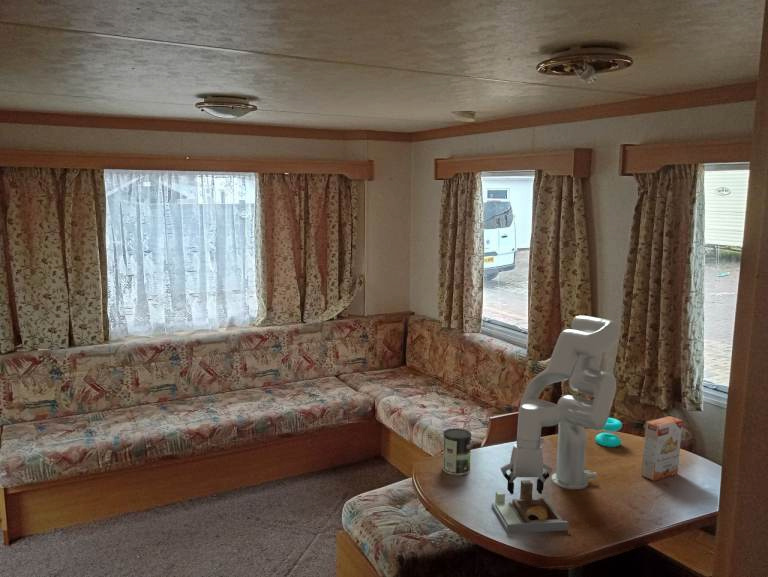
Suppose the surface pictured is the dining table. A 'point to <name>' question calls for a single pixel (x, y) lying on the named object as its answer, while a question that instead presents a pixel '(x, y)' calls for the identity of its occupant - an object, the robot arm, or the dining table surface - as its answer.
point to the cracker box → (661, 447)
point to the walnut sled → (532, 503)
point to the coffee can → (456, 451)
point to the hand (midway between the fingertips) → (525, 492)
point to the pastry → (537, 513)
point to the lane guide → (530, 524)
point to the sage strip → (505, 509)
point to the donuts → (609, 438)
